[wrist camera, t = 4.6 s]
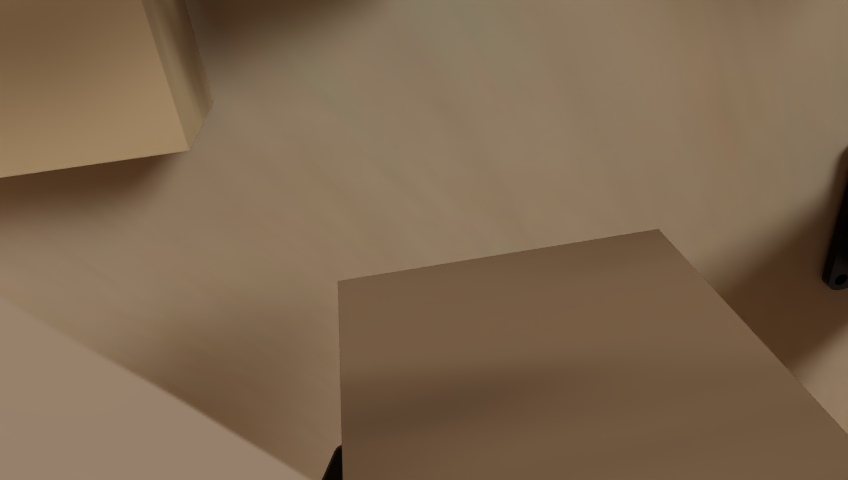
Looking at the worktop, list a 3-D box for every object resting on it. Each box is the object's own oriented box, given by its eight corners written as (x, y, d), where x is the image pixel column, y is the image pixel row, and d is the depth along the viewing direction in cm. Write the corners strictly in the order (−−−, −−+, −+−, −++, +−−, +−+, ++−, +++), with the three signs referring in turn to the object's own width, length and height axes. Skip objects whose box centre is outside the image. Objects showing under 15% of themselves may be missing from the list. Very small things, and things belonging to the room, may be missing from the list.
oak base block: (214, 99, 19) (189, 150, 15) (-25, 133, 18) (-107, 193, 15) (135, -180, 15) (79, -194, 12) (-166, -145, 15) (-314, -151, 11)
